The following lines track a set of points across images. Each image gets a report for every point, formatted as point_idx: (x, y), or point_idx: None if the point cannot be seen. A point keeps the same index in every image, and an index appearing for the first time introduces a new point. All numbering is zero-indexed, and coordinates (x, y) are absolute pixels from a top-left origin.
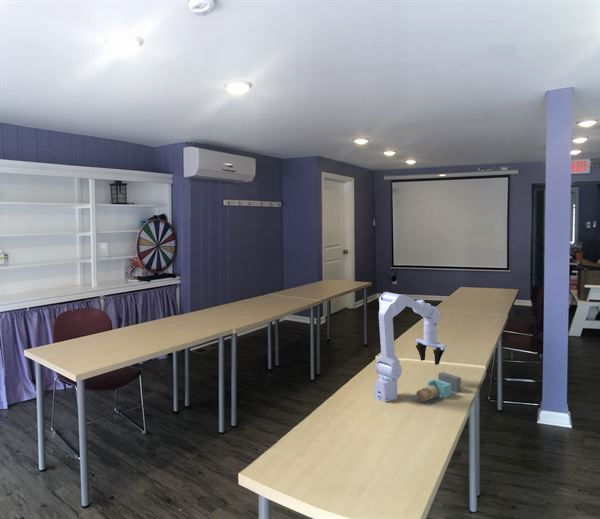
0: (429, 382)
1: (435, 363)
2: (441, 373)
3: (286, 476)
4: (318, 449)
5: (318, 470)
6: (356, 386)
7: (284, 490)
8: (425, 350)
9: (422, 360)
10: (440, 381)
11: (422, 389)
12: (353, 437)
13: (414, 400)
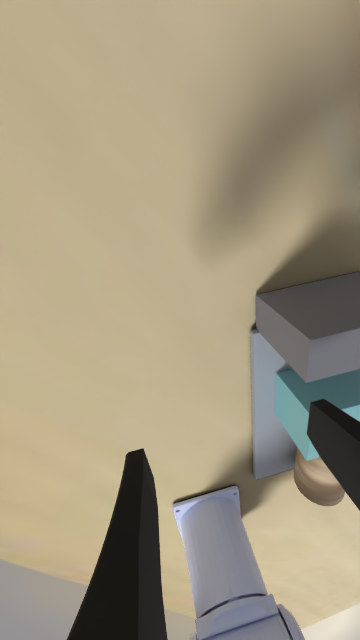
0: (314, 455)
1: (321, 446)
2: (319, 365)
3: (306, 620)
4: (287, 605)
5: (322, 603)
6: (62, 556)
7: (322, 619)
8: (141, 593)
9: (152, 475)
10: (354, 415)
11: (333, 500)
12: (298, 578)
13: (283, 471)
